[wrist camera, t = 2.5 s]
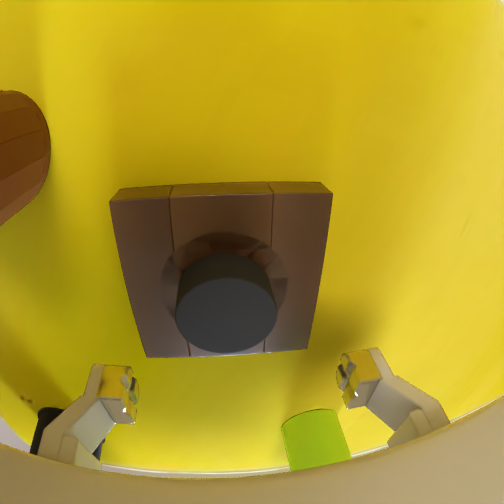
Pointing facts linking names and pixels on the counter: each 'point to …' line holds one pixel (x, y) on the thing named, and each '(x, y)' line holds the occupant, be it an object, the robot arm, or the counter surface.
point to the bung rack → (221, 241)
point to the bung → (225, 304)
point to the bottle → (21, 152)
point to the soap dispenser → (314, 440)
